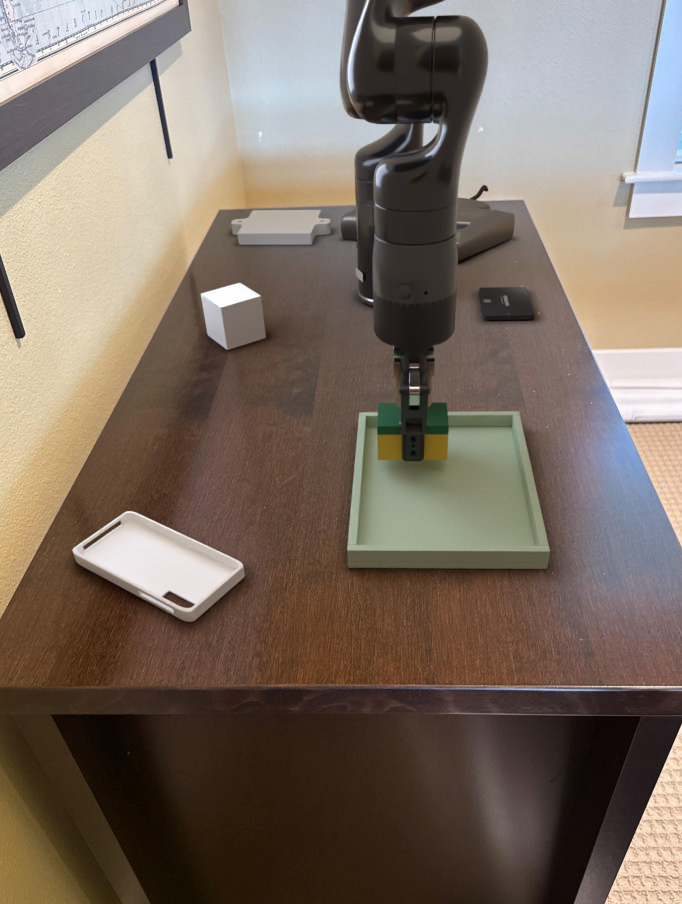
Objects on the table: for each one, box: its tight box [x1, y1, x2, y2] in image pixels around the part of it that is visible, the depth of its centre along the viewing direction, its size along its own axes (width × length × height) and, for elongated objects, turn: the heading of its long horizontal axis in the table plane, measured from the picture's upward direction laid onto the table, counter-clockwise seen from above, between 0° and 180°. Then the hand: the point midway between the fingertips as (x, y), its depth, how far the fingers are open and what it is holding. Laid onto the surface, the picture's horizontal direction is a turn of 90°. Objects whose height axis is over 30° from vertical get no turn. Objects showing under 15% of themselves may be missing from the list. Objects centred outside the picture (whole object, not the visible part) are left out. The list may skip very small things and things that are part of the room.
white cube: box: [200, 282, 267, 351], centre depth 105 cm, size 6×6×6 cm
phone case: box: [71, 510, 246, 623], centre depth 70 cm, size 7×1×15 cm
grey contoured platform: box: [340, 197, 516, 262], centre depth 133 cm, size 28×5×28 cm
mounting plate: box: [230, 209, 332, 246], centre depth 140 cm, size 18×13×2 cm
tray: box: [346, 410, 551, 570], centre depth 77 cm, size 24×18×2 cm
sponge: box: [377, 402, 449, 460], centre depth 79 cm, size 5×7×4 cm, turn 87°
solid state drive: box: [478, 286, 536, 321], centre depth 111 cm, size 7×10×1 cm
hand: (412, 444), depth 80 cm, fingers closed on sponge, 4 cm apart
